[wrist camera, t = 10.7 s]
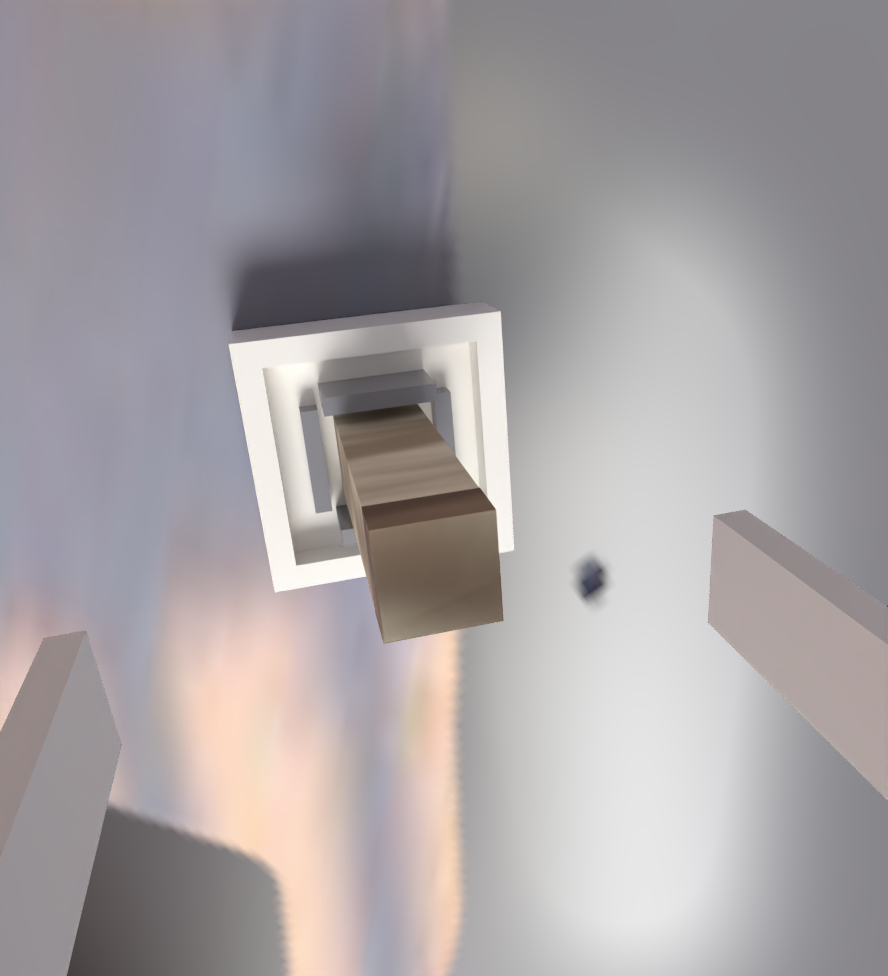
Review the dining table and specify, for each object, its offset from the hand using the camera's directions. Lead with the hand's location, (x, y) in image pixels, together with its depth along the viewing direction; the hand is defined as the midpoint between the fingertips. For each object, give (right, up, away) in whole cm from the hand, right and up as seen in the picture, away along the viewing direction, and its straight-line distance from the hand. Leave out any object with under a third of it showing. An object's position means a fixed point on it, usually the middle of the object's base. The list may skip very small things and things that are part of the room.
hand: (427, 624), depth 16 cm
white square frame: (-3, +6, +23) cm, 24 cm away
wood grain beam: (-3, +5, +21) cm, 22 cm away
